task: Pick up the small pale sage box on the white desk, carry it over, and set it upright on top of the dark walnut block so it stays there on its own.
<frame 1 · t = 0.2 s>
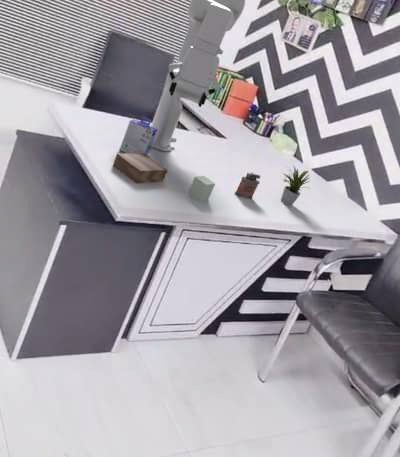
hand: (185, 100, 166), 31 cm above the table, tool pointing down, fingers open, 9 cm apart
house plant: (285, 202, 220), on the table
lighter: (243, 196, 205), on the table
sage box: (197, 197, 184), on the table
walnut block: (138, 174, 182), on the table
ink cartridge box: (133, 154, 197), on the table
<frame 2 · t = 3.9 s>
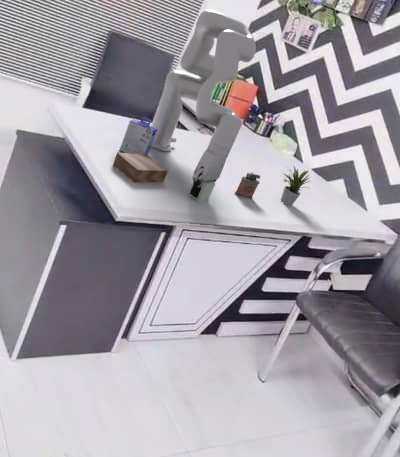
hand: (198, 194, 184), 1 cm above the table, tool pointing down, fingers closed on sage box, 5 cm apart
sage box: (197, 197, 184), on the table, touching gripper
everything else where it was.
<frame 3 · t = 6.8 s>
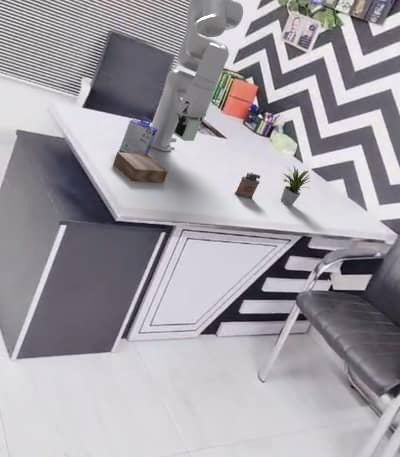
hand: (183, 133, 175), 19 cm above the table, tool pointing down, fingers closed on sage box, 5 cm apart
sage box: (182, 136, 176), point 18 cm above the table, touching gripper
everything else where it was.
when the fingers open (7 cm above the table, at t = 10.2 s): sage box drops 2 cm, resting on walnut block.
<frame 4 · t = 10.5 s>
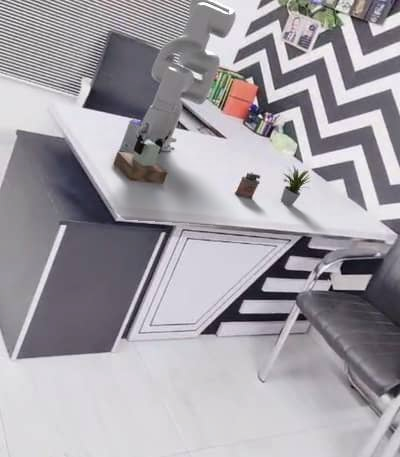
hand: (146, 152, 179), 8 cm above the table, tool pointing down, fingers open, 9 cm apart
sage box: (142, 161, 180), point 5 cm above the table, touching walnut block
walnut block: (138, 174, 182), on the table, touching sage box
everything else where it was.
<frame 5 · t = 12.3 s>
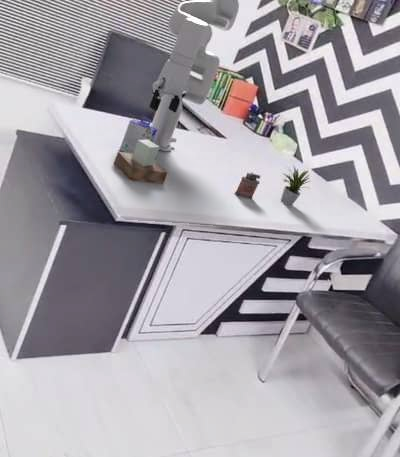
hand: (162, 109, 172), 24 cm above the table, tool pointing down, fingers open, 9 cm apart
nothing on the table moved.
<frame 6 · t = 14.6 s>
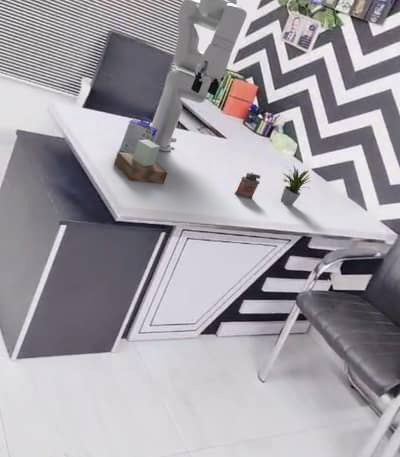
hand: (202, 92, 180), 32 cm above the table, tool pointing down, fingers open, 9 cm apart
nothing on the table moved.
at the end: sage box inside the target area on the walnut block (0.2 cm from its centre), point 5.0 cm above the walnut block's base; sage box tilted 1°; the gripper is holding nothing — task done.
